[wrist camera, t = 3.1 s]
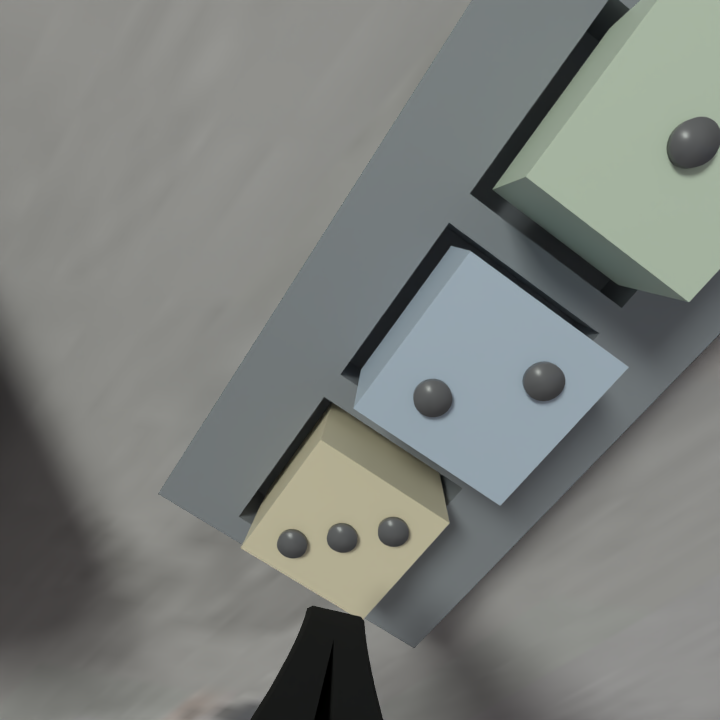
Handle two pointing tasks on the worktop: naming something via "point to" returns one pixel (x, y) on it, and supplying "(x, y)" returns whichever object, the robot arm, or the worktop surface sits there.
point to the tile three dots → (348, 513)
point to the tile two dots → (482, 376)
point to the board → (407, 275)
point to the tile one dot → (635, 153)
